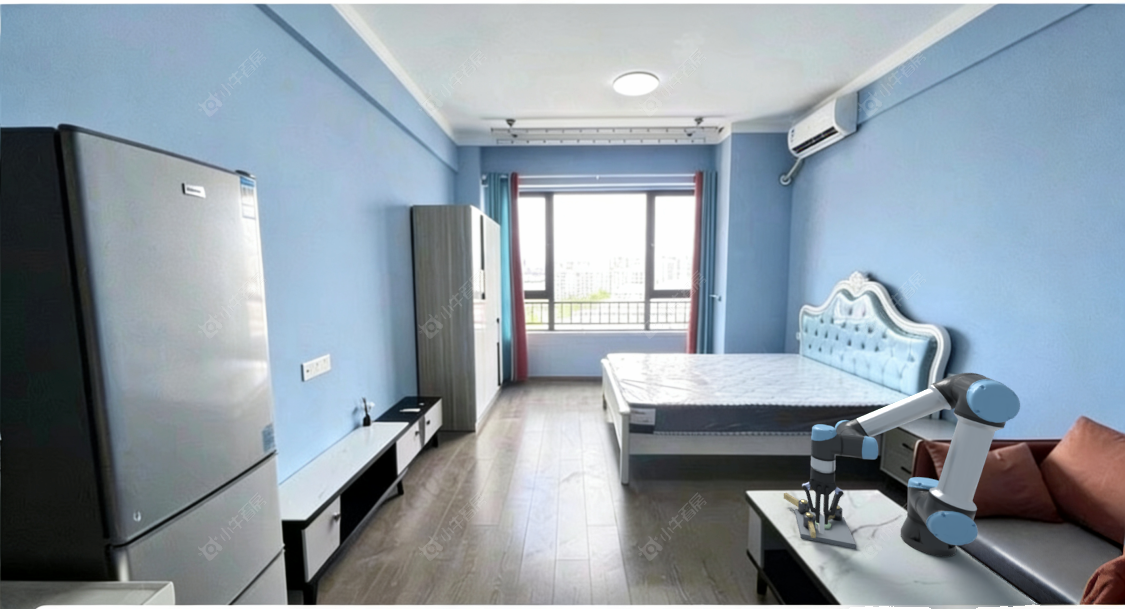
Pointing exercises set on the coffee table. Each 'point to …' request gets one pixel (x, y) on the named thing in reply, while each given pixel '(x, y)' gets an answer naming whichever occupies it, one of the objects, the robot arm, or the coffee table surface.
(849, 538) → the base plate
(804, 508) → the knob
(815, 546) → the coffee table surface
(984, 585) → the coffee table surface
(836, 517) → the knob
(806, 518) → the knob
